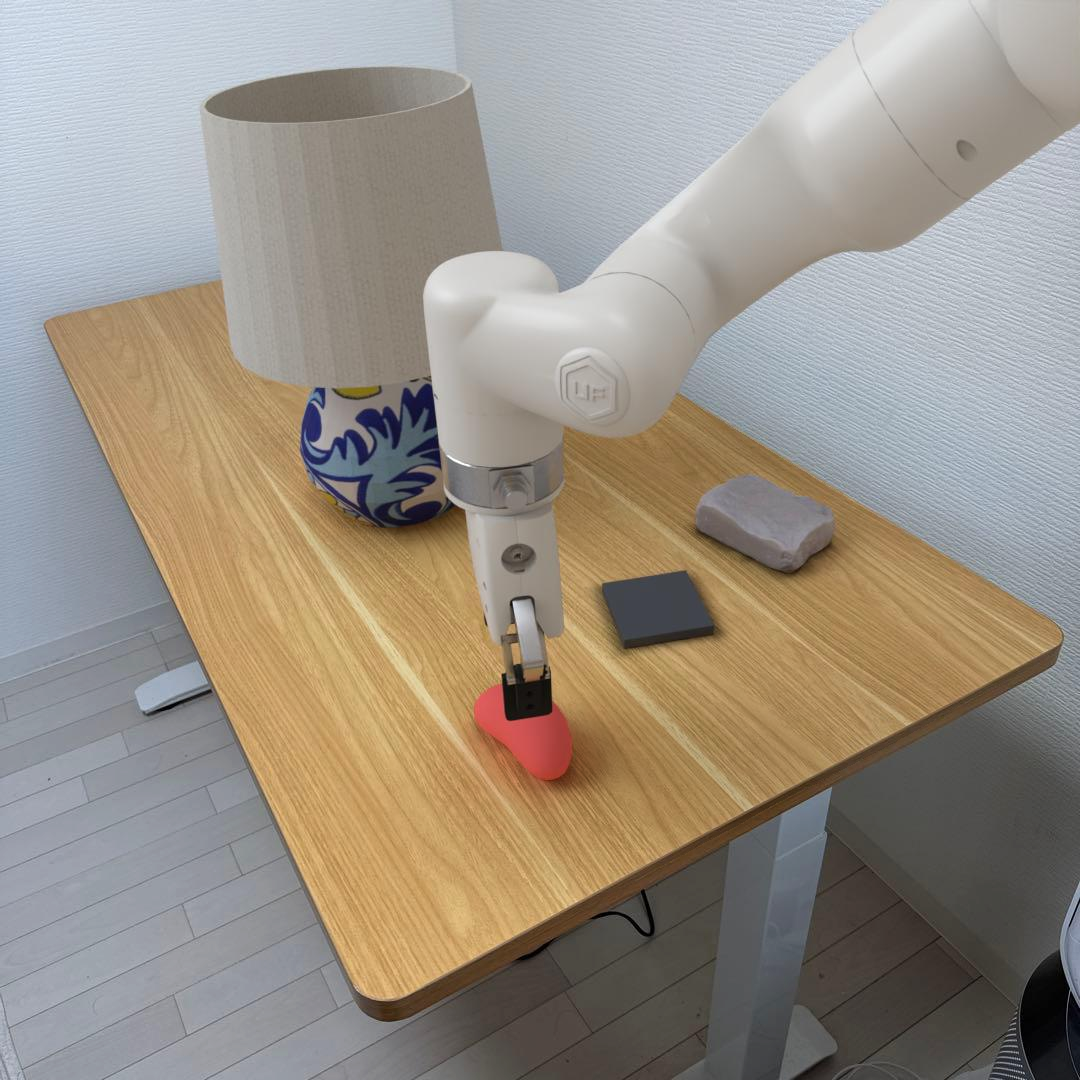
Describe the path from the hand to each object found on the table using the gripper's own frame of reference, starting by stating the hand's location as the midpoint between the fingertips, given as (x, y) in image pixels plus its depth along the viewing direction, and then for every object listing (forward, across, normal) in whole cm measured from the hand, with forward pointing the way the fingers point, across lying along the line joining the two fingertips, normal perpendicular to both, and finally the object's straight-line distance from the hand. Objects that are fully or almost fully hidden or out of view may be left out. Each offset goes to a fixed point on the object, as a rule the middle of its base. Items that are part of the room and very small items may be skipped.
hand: (516, 666), depth 69 cm
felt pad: (+8, +13, -14) cm, 21 cm away
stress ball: (+9, 0, 0) cm, 9 cm away
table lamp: (+9, +39, +7) cm, 40 cm away
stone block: (+8, +22, -28) cm, 37 cm away
